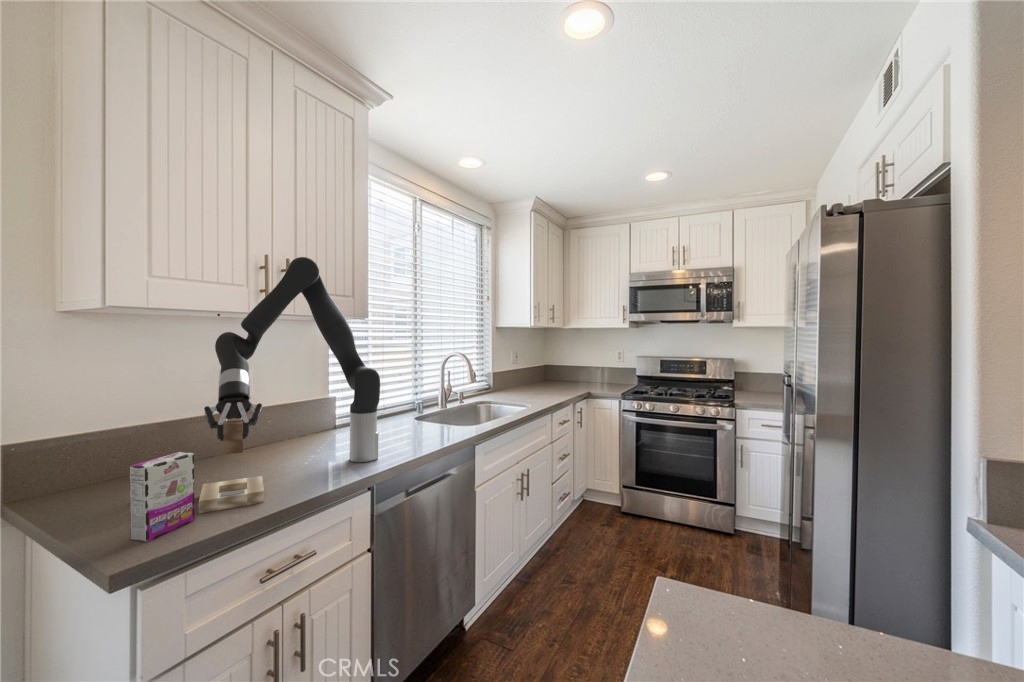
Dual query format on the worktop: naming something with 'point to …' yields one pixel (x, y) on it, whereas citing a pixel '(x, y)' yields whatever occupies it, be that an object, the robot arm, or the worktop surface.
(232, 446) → the walnut post
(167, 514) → the candy bar box
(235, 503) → the socket plate
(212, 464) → the worktop surface
